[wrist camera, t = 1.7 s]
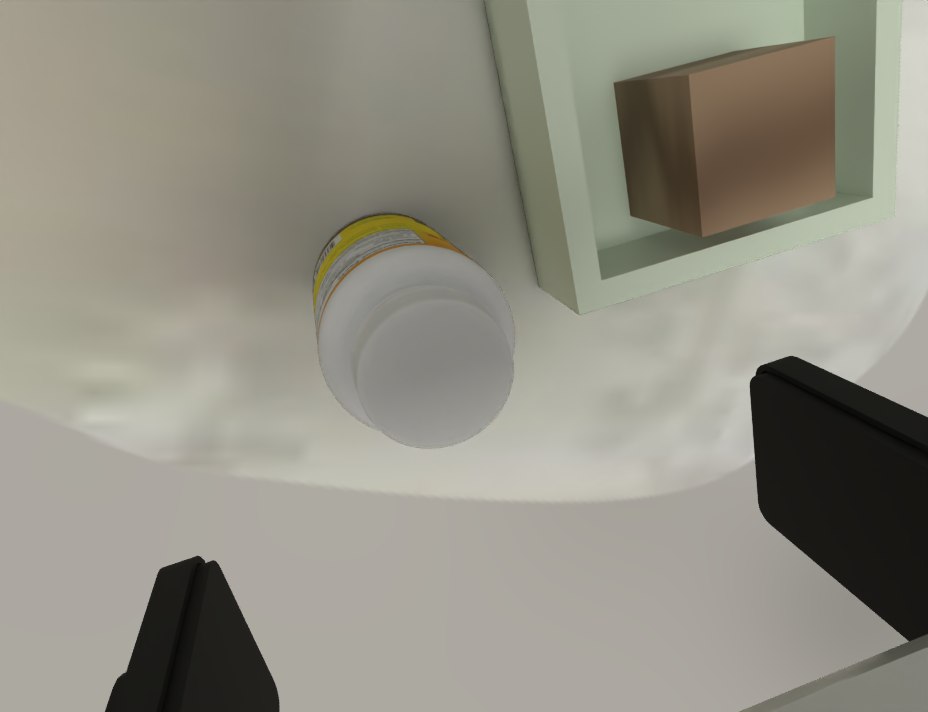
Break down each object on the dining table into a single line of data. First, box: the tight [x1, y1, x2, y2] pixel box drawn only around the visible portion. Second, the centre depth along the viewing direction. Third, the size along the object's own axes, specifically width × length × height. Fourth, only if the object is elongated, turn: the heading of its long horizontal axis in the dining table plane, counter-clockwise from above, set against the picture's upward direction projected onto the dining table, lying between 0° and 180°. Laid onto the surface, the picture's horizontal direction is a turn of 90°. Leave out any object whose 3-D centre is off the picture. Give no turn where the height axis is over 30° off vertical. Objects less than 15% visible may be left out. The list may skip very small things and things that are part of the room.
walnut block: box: [614, 36, 835, 237], centre depth 23 cm, size 5×5×5 cm
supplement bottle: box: [313, 213, 515, 449], centre depth 21 cm, size 6×6×10 cm
